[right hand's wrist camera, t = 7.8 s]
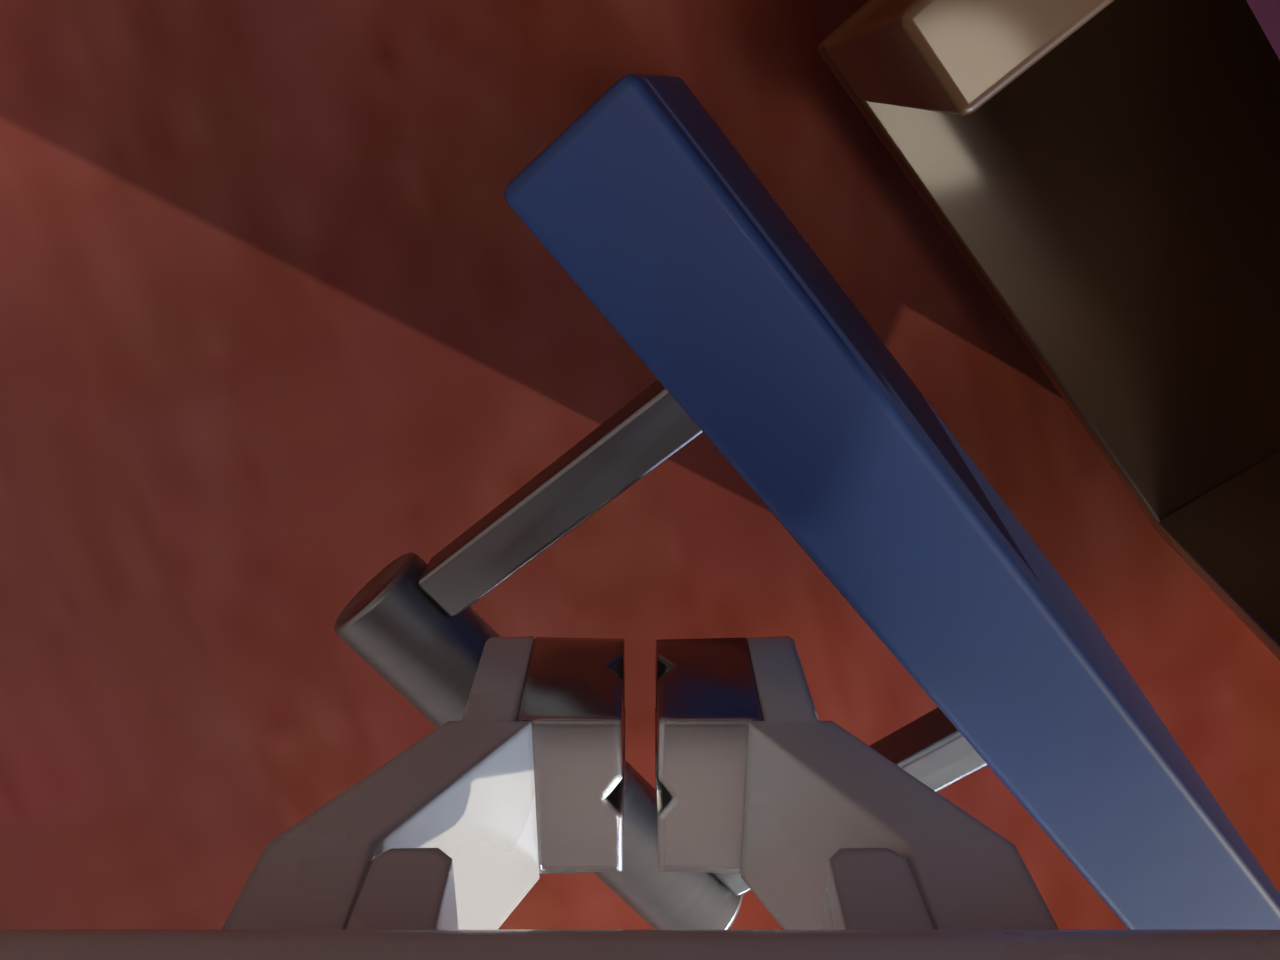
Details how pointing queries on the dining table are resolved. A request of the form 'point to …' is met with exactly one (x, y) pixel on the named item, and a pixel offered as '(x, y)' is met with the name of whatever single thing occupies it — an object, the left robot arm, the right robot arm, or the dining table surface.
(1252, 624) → the drawer
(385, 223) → the dining table surface
